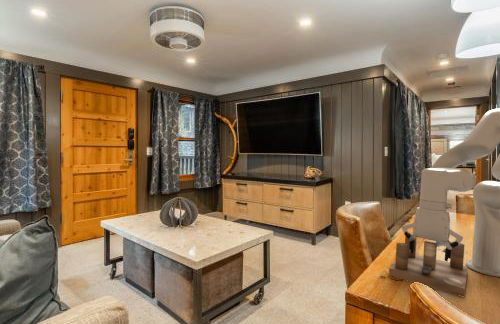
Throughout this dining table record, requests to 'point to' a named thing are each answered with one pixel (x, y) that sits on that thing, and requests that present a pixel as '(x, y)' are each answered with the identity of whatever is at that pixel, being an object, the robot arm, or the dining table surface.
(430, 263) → the hinged leg
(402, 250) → the stool
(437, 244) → the driftwood
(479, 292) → the dining table surface
